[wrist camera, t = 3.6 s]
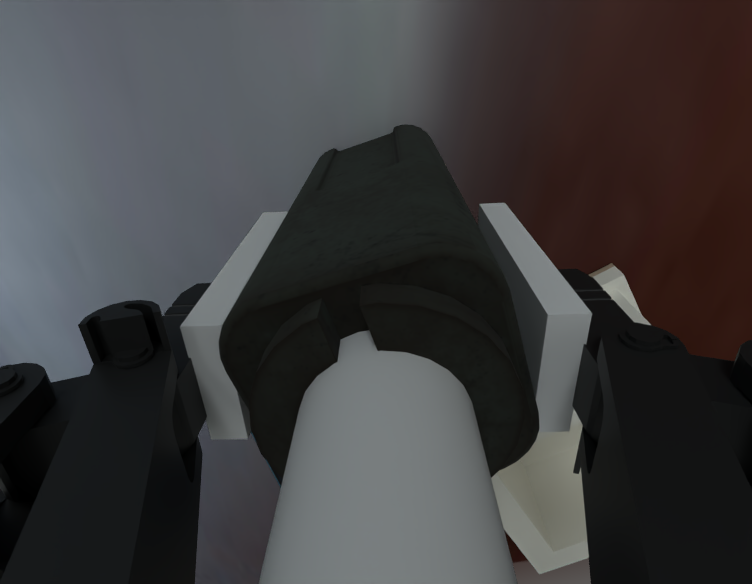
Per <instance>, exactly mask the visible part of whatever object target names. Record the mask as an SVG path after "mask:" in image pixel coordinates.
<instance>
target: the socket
mask: <svg viewBox="0 0 752 584" xmlns="http://www.w3.org/2000/svg"><path fill="white" fill-rule="evenodd" d="M589 276H591V277H593V278H594V279H595V280H596V281H597V282H598V283H599V284H600V286H601V287H602V288H603V291H606V292H607V293H608V294H609V295H610V296H611V300H614V301H615V302H616V303H617V304H618V305H619V306H620V307H621V308H622V310H623V311H624V312H625V313H626V314H627V315H628V316H629V317H630V318H631V319H632V320H633V321H634V322H637V323H642V324H647V325H651V324H650V323H649V322H648V321H647V320H646V319H645V318H644V317H643V316H642V315H641V313H640V310H639V308H638V306H637V303H636V301H635V299H634V297H633V294H632V292H631V290H630V288H629V285H628V283H627V281H626V278H625V276H624V274H623V273H622V272H620V271H619V270H618V269H617V268H616V267H615V266H614V265H613V264H612V263H611V264H609V265H607V266H605V267H603V268H601V269H599V270H597V271H595V272H593V273H591V274H589ZM582 427H583V425H582V423H581V421H580V419H579V417H578V415H577V413H576V412H575V410H573V415H572V420H571V425H570V431H565V432H538V435H537V438H536V441H535V443H534V444H533V446H532V447H531V448H530V450H529V451H528V452H527V453H526V454H525V455H524V456H523V457H522V458H521V459H519V460H518V461H517V462H515V463H514V464H512V465H510V466H508V467H506V468H504V469H502V470H499V471H498V472H497V473H496V474H495V475H494V476H493V477H492V478H491V480H492V484H493V488H494V492H495V496H496V500H497V504H498V508H499V512H500V516H501V520H502V524H503V528H504V530H505V531H506V532H507V533H508V535H509V536H510V537H511V539H512V540H513V541H514V542H515V544H516V545H517V546H518V548H519V549H520V550H521V551H522V553H523V554H524V555H525V557H526V558H527V559H528V560H529V562H530V563H531V564H532V566H533V567H534V568H535V569H536V571H537V572H538V573H539V574H542V573H545V572H548V571H551V570H554V569H557V568H560V567H563V566H566V565H568V564H572V563H574V562H577V561H580V560H583V559H586V558H589V554H588V543H587V532H586V520H585V509H584V498H583V487H582V475H581V468H580V472H579V474H575V473H573V470H574V465H575V460H576V456H577V451H578V446H579V441H580V436H581V432H582Z"/></svg>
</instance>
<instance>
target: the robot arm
mask: <svg viewBox="0 0 752 584" xmlns="http://www.w3.org/2000/svg"><path fill="white" fill-rule="evenodd" d="M287 213H288V211H287V212H263V214H262V215H261V216H260V218H259V219H258V220H257V222H256V223H255V225H254V226H253V227H252V229H251V230H250V231H249V233H248V234H247V235H246V237H245V238H244V240H243V241H242V242H241V244H240V245H239V246H238V248H237V249H236V251H235V252H234V253H233V255H232V256H231V257H230V259H229V260H228V261H227V263H226V264H225V266H224V267H223V268H222V270H221V271H220V272H219V274H218V275H217V277H216V278H215V279H214V281H213V282H212V283H202V284H196V285H194V286H193V287H191V288H189V289H188V290H186V291H184V292H183V293H181V294H180V296H179V297H178V298H177V299H176V300H175V302H174V303H173V304H172V307H170V308H169V309H168V310H167V311H166V313H165V316H162V314H161V311H160V307H159V305H157V304H155V303H154V302H152V301H144V300H136V301H125V302H121V303H117V304H112V305H110V306H107V307H104V308H102V309H99V310H97V311H95V312H93V313H92V314H90V315H88V316H87V317H85V318H84V319H83V320H82V321H81V322H80V324H79V325H78V326H79V329H80V331H81V334H82V336H83V339H84V341H85V344H86V346H87V349H88V351H89V354H90V356H91V359H92V361H93V364H94V365H93V367H92V369H91V372H90V374H89V375H85V376H80V377H76V378H71V379H66V380H62V381H57V382H52V383H51V382H50V380H49V378H48V376H47V373H46V371H45V369H44V368H43V367H42V366H40V365H38V364H33V363H21V364H15V365H6V366H2V367H1V368H0V488H1V491H0V584H195V568H196V551H197V534H198V518H199V501H200V485H201V468H202V450H201V446H200V442H199V439H198V434H199V432H200V430H201V428H202V426H203V424H204V422H205V419H206V422H207V426H208V429H209V433H210V436H211V440H232V439H248V438H249V435H250V432H251V429H250V416H249V410H248V408H247V407H246V405H245V403H244V402H243V400H242V398H241V397H240V395H239V393H238V392H237V390H236V388H235V387H234V385H233V383H232V382H231V380H230V378H229V377H228V375H227V373H226V371H225V369H224V366H223V364H222V362H221V359H220V353H219V337H220V333H221V328H222V325H223V323H224V322H225V320H226V318H227V317H228V315H229V313H230V311H231V310H232V308H233V306H234V305H235V303H236V301H237V299H238V298H239V296H240V294H241V292H242V291H243V289H244V287H245V286H246V284H247V282H248V280H249V279H250V277H251V275H252V273H253V272H254V270H255V268H256V267H257V265H258V263H259V261H260V260H261V258H262V256H263V255H264V253H265V251H266V249H267V248H268V246H269V244H270V242H271V241H272V239H273V237H274V236H275V234H276V232H277V230H278V229H279V227H280V225H281V224H282V222H283V220H284V218H285V217H286V215H287ZM478 227H479V229H480V231H481V233H482V234H483V236H484V238H485V240H486V242H487V244H488V246H489V247H490V249H491V251H492V253H493V255H494V257H495V259H496V261H497V262H498V264H499V266H500V268H501V270H502V272H503V274H504V276H505V278H506V281H507V283H508V286H509V288H510V291H511V295H512V300H513V304H514V308H515V313H516V317H517V321H518V326H519V330H520V334H521V338H522V343H523V347H524V351H525V356H526V360H527V364H528V369H529V373H530V377H531V381H532V386H533V390H534V394H535V399H536V403H537V407H538V412H539V428H540V429H539V432H565V431H570V425H571V420H572V415H573V410H575V412H576V413H577V415H578V417H579V419H580V421H581V423H582V425H583V427H582V432H581V436H580V441H579V446H578V451H577V456H576V460H575V465H574V470H573V473H575V474H579V472H580V468H581V475H582V487H583V498H584V509H585V520H586V532H587V543H588V554H589V565H590V576H591V584H752V340H749V341H747V342H745V343H744V344H742V345H741V346H740V348H739V351H738V354H737V356H736V359H735V361H729V360H722V359H715V358H708V357H701V356H696V355H691V354H689V353H688V351H687V349H686V347H685V346H684V344H683V343H682V342H681V341H680V340H679V338H677V337H676V336H674V335H672V334H671V333H669V332H668V331H666V330H663V329H660V328H657V327H655V326H652V325H647V324H642V323H637V322H634V321H633V320H632V319H631V318H630V317H629V316H628V315H627V314H626V313H625V312H624V311H623V310H622V308H621V307H620V306H619V305H618V304H617V303H616V302H615V301H614V300H611V296H610V295H609V294H608V293H607V292H606V291H603V288H602V287H601V286H600V284H599V283H598V282H597V281H596V280H595V279H594V278H593V277H591V276H589V275H587V274H585V273H583V272H581V271H579V270H578V269H558V270H557V268H556V267H555V266H554V264H553V263H552V262H551V261H550V259H549V258H548V257H547V256H546V254H545V253H544V252H543V251H542V249H541V248H540V247H539V245H538V244H537V243H536V242H535V240H534V239H533V238H532V237H531V235H530V234H529V233H528V232H527V230H526V229H525V228H524V226H523V225H522V224H521V223H520V221H519V220H518V219H517V218H516V216H515V215H514V214H513V213H512V211H511V210H510V209H509V207H508V206H507V205H506V204H505V203H488V204H479V216H478Z"/></svg>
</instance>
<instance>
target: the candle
mask: <svg viewBox="0 0 752 584" xmlns="http://www.w3.org/2000/svg"><path fill="white" fill-rule="evenodd" d="M219 353H220V359H221V362H222V364H223V366H224V369H225V371H226V373H227V375H228V377H229V378H230V380H231V382H232V383H233V385H234V387H235V388H236V390H237V392H238V393H239V395H240V397H241V398H242V400H243V402H244V403H245V405H246V407H247V408H248V410H249V416H250V429H251V431H252V433H253V436H254V438H255V440H256V443H257V445H258V447H259V450H260V452H261V454H262V455H263V457H264V458H265V459H266V460H267V462H268V463H269V464H270V465H271V466H272V468H273V469H274V470H275V471H276V472H277V474H278V475H279V476H280V477H282V478H283V481H282V485H281V489H280V494H279V498H278V502H277V506H276V511H275V515H274V519H273V524H272V528H271V532H270V536H269V541H268V545H267V549H266V554H265V558H264V562H263V567H262V571H261V575H260V579H259V584H518V583H517V579H516V575H515V571H514V567H513V563H512V559H511V555H510V551H509V547H508V543H507V540H506V536H505V532H504V528H503V524H502V520H501V516H500V512H499V508H498V504H497V500H496V496H495V492H494V488H493V484H492V480H491V478H492V477H493V476H494V475H495V474H496V473H497V472H498V471H499V470H502V469H504V468H506V467H508V466H510V465H512V464H514V463H515V462H517V461H518V460H519V459H521V458H522V457H523V456H524V455H525V454H526V453H527V452H528V451H529V450H530V448H531V447H532V446H533V444H534V443H535V441H536V438H537V435H538V432H539V429H540V428H539V412H538V407H537V403H536V399H535V394H534V390H533V386H532V381H531V377H530V373H529V369H528V364H527V360H526V356H525V351H524V347H523V343H522V338H521V334H520V330H519V326H518V321H517V317H516V313H515V308H514V304H513V300H512V295H511V291H510V288H509V286H508V283H507V281H506V278H505V276H504V274H503V272H502V270H501V268H500V266H499V264H498V262H497V261H496V259H495V257H494V255H493V253H492V251H491V249H490V247H489V246H488V244H487V242H486V240H485V238H484V236H483V234H482V233H481V231H480V229H479V227H478V225H477V223H476V221H475V219H474V218H473V216H472V214H471V212H470V210H469V208H468V206H467V204H466V203H465V201H464V199H463V197H462V195H461V193H460V191H459V190H458V188H457V186H456V184H455V182H454V180H453V178H452V176H451V175H450V173H449V171H448V169H447V167H446V165H445V163H444V162H443V160H442V158H441V156H440V154H439V152H438V150H437V148H436V147H435V145H434V143H433V141H432V139H431V138H430V136H429V135H428V134H427V133H426V132H425V131H424V130H422V129H421V128H419V127H416V126H413V125H400V126H396V127H394V130H393V133H391V134H388V135H385V136H382V137H379V138H377V139H374V140H371V141H368V142H365V143H362V144H359V145H357V146H354V147H351V148H348V149H345V150H342V151H337V150H336V149H335V148H333V149H331V150H329V151H327V152H325V153H324V154H323V155H322V156H321V157H320V158H319V160H318V162H317V163H316V165H315V167H314V168H313V170H312V172H311V174H310V175H309V177H308V179H307V180H306V182H305V184H304V186H303V187H302V189H301V191H300V193H299V194H298V196H297V198H296V199H295V201H294V203H293V205H292V206H291V208H290V210H289V211H288V213H287V215H286V217H285V218H284V220H283V222H282V224H281V225H280V227H279V229H278V230H277V232H276V234H275V236H274V237H273V239H272V241H271V242H270V244H269V246H268V248H267V249H266V251H265V253H264V255H263V256H262V258H261V260H260V261H259V263H258V265H257V267H256V268H255V270H254V272H253V273H252V275H251V277H250V279H249V280H248V282H247V284H246V286H245V287H244V289H243V291H242V292H241V294H240V296H239V298H238V299H237V301H236V303H235V305H234V306H233V308H232V310H231V311H230V313H229V315H228V317H227V318H226V320H225V322H224V323H223V325H222V328H221V333H220V337H219Z"/></svg>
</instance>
